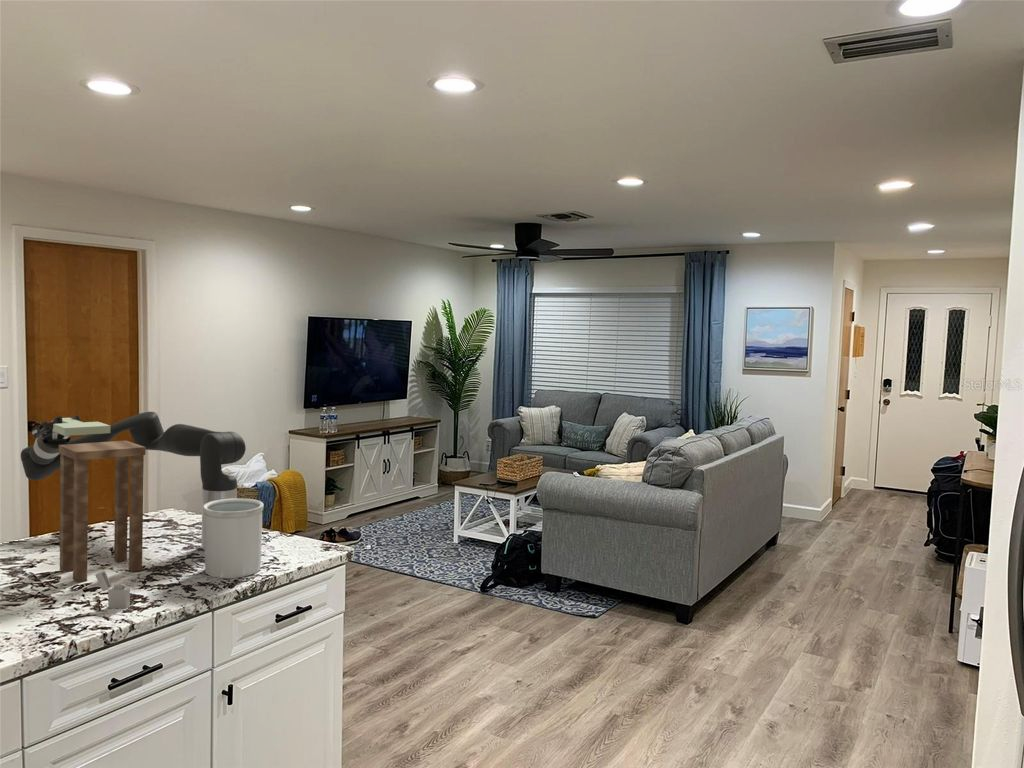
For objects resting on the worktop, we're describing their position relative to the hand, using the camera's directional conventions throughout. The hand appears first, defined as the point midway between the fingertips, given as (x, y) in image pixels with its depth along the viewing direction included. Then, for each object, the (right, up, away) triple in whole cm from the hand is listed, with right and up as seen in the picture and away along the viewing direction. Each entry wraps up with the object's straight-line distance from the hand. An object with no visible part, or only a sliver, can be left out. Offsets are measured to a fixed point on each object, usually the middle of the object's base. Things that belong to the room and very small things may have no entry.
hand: (68, 418), depth 210 cm
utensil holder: (+49, -39, -10) cm, 64 cm away
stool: (+17, -38, -15) cm, 44 cm away
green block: (+4, -3, -3) cm, 6 cm away
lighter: (+32, -41, -39) cm, 65 cm away
